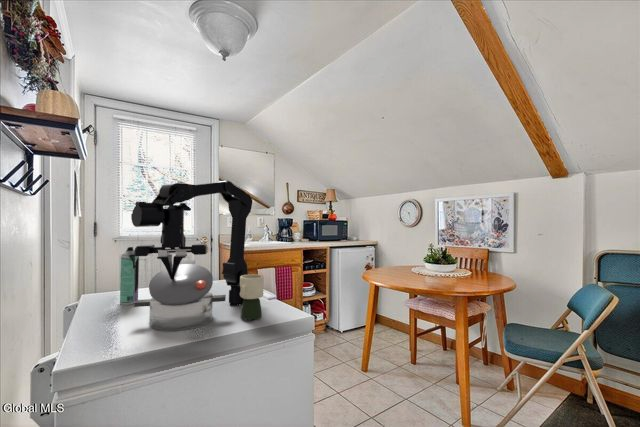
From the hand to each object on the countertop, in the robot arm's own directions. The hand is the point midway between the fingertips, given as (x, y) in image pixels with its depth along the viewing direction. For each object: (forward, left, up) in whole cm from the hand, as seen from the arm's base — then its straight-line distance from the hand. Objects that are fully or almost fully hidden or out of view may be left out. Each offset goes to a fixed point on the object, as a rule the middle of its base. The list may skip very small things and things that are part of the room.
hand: (172, 279), depth 88 cm
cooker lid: (-3, -1, -1) cm, 3 cm away
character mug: (-23, +2, -13) cm, 26 cm away
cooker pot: (-3, -1, -13) cm, 13 cm away
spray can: (+18, -26, -13) cm, 34 cm away
